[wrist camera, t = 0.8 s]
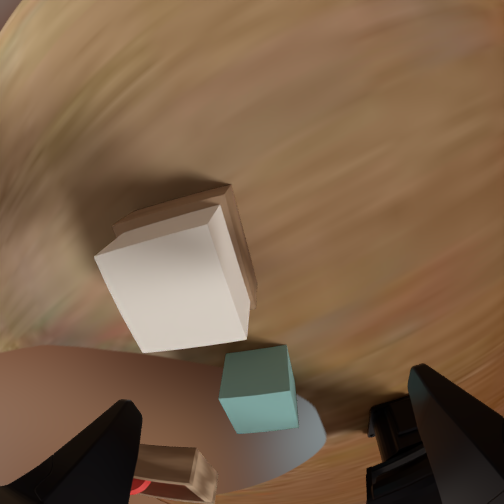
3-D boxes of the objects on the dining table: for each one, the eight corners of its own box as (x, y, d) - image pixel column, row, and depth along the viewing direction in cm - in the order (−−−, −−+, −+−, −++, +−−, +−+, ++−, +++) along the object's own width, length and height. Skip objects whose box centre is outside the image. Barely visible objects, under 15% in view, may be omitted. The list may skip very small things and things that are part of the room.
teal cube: (295, 383, 24) (299, 427, 19) (241, 390, 25) (237, 433, 20) (286, 343, 22) (290, 390, 18) (226, 353, 23) (218, 398, 18)
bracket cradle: (218, 473, 33) (214, 504, 28) (131, 466, 35) (123, 491, 30) (196, 447, 30) (189, 483, 25) (102, 438, 32) (91, 465, 27)
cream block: (250, 301, 17) (246, 339, 14) (160, 317, 18) (143, 353, 15) (219, 204, 15) (207, 224, 12) (123, 232, 16) (93, 256, 12)
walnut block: (257, 281, 20) (256, 308, 17) (167, 297, 21) (152, 324, 18) (231, 183, 18) (224, 194, 15) (135, 210, 19) (111, 225, 16)
